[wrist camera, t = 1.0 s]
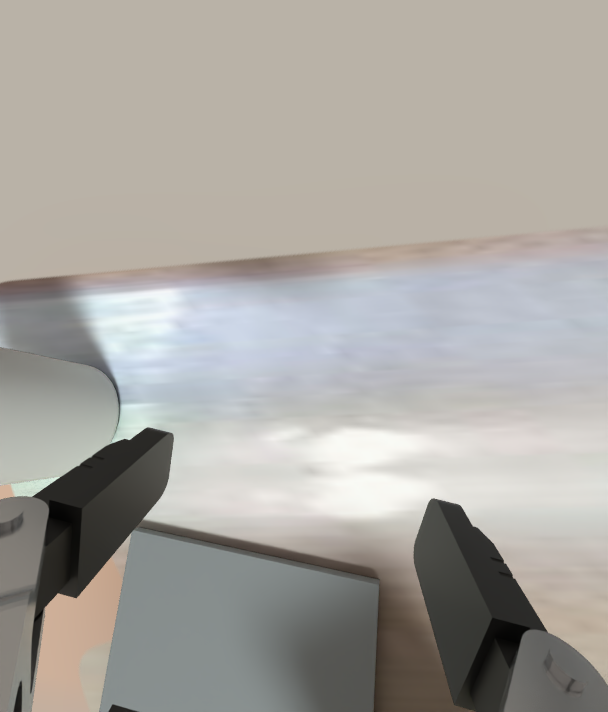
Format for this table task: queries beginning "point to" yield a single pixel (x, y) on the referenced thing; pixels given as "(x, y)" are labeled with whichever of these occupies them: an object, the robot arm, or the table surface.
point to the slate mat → (238, 632)
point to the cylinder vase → (51, 415)
